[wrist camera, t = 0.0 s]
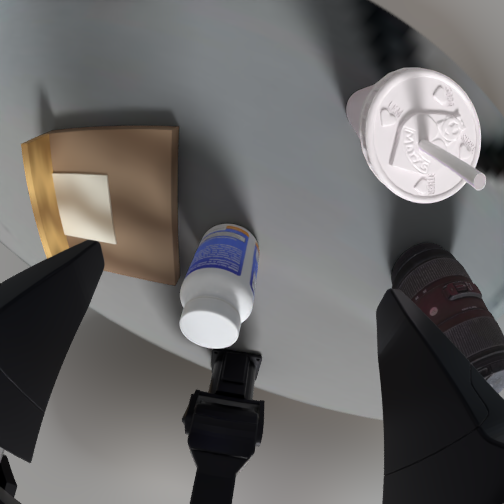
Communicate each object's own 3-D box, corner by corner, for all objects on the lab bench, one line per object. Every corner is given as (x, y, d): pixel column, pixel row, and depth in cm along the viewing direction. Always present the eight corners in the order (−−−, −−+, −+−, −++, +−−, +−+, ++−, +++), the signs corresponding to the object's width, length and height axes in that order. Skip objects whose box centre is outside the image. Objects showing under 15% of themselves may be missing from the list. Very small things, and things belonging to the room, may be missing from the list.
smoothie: (310, 98, 17) (364, 126, 6) (378, 57, 14) (512, 45, 3) (358, 166, 20) (439, 289, 8) (420, 128, 17) (550, 208, 5)
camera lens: (368, 271, 25) (407, 417, 13) (433, 220, 21) (517, 351, 9) (405, 309, 28) (439, 429, 15) (460, 268, 24) (519, 381, 11)
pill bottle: (190, 242, 25) (151, 320, 17) (233, 210, 23) (205, 288, 15) (228, 279, 27) (207, 362, 20) (272, 253, 25) (265, 340, 17)
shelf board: (179, 276, 28) (165, 307, 24) (74, 254, 28) (54, 277, 24) (179, 126, 19) (154, 138, 16) (52, 130, 20) (21, 144, 16)
